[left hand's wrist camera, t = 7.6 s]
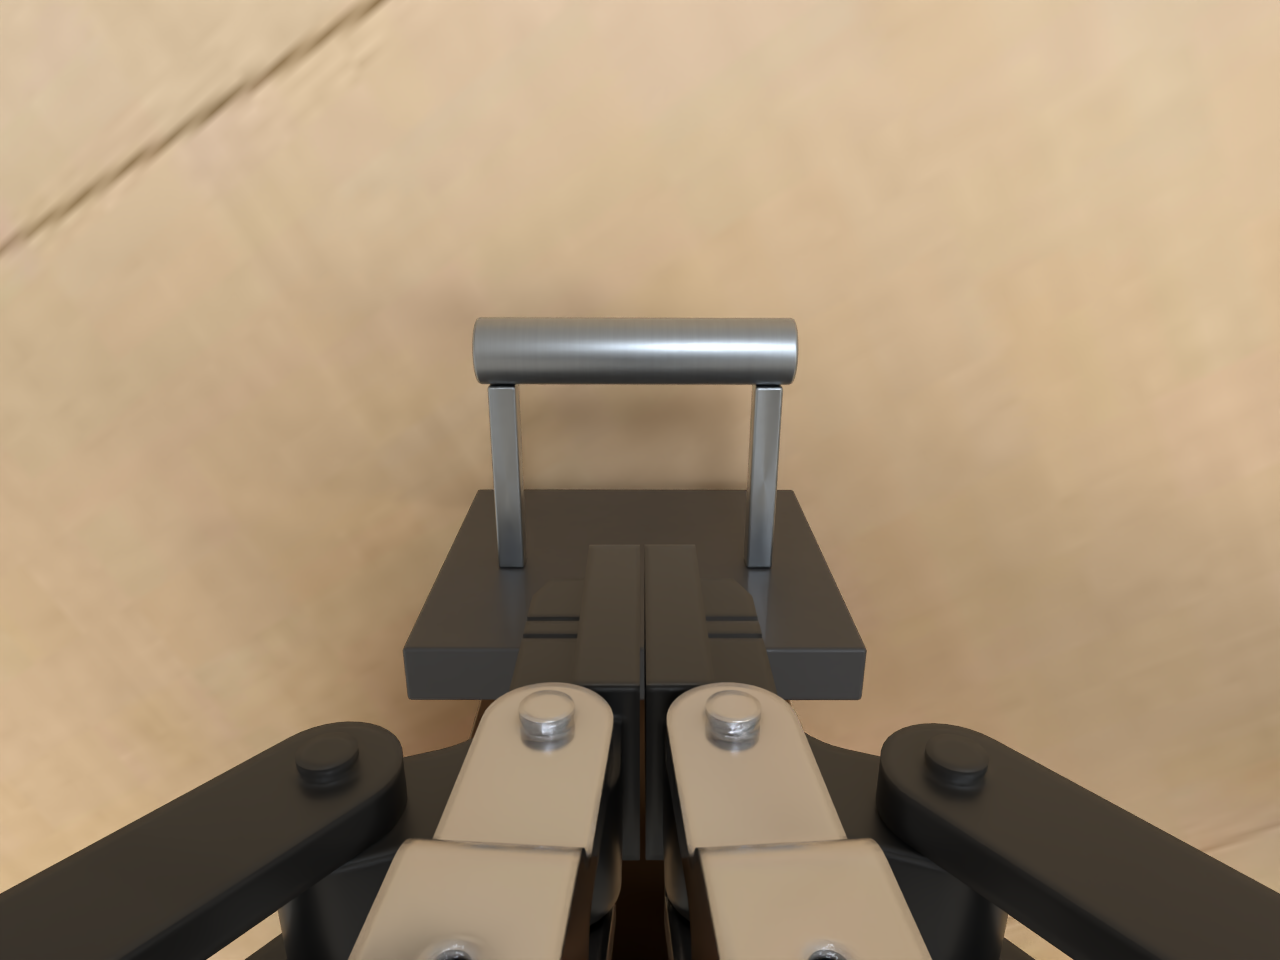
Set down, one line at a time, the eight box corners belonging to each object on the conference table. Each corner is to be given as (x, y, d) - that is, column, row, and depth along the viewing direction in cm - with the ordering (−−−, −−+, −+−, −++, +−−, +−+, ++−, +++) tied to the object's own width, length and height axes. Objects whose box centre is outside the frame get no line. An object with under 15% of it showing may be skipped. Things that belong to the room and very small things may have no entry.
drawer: (464, 285, 23) (369, 356, 15) (807, 286, 23) (899, 358, 15) (510, 975, 31) (467, 1257, 23) (759, 974, 31) (801, 1256, 23)
